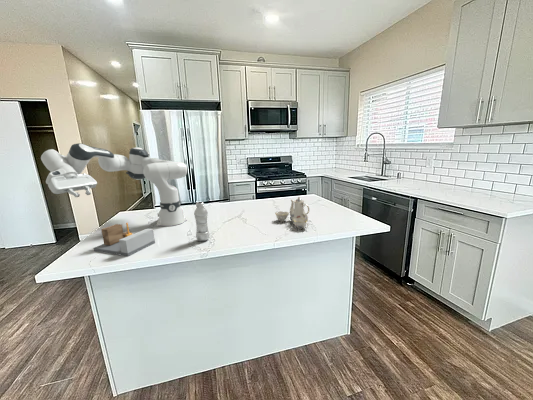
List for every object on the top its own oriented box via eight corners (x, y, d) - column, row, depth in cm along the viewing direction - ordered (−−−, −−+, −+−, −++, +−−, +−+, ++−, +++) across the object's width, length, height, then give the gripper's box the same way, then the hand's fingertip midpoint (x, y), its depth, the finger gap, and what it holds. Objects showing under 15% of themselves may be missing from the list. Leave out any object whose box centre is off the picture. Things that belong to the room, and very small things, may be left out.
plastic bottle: (197, 238, 129) (194, 201, 125) (210, 237, 130) (207, 200, 125) (195, 243, 123) (191, 204, 119) (208, 242, 123) (205, 203, 119)
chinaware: (270, 223, 155) (267, 198, 151) (289, 215, 165) (287, 192, 160) (303, 235, 134) (301, 206, 129) (322, 225, 143) (321, 198, 139)
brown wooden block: (104, 244, 120) (101, 229, 118) (126, 235, 131) (123, 221, 130) (110, 245, 119) (107, 229, 117) (131, 236, 130) (129, 222, 128)
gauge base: (94, 250, 117) (91, 236, 116) (123, 238, 132) (120, 225, 130) (128, 256, 110) (125, 240, 108) (155, 243, 125) (153, 229, 123)
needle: (125, 239, 126) (123, 223, 125) (130, 237, 129) (128, 221, 127) (128, 239, 126) (125, 223, 124) (133, 237, 129) (130, 222, 127)
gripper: (85, 177, 134) (101, 195, 133) (41, 182, 116) (59, 203, 114) (89, 169, 132) (105, 187, 131) (45, 173, 113) (63, 195, 112)
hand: (83, 195), depth 122 cm, fingers open, 4 cm apart
